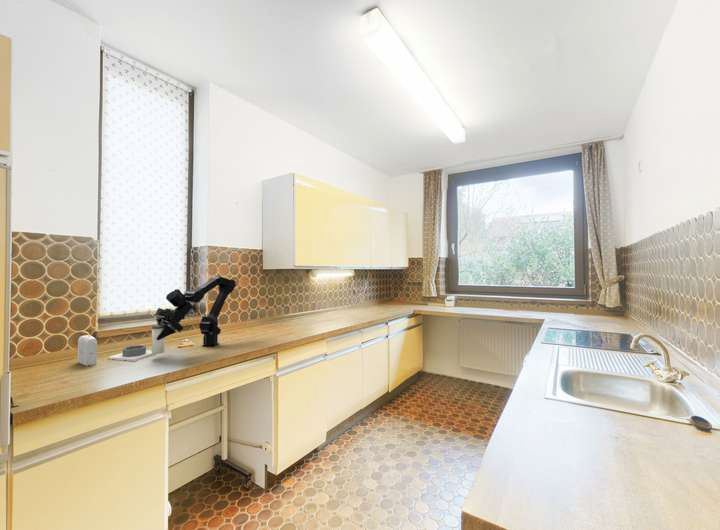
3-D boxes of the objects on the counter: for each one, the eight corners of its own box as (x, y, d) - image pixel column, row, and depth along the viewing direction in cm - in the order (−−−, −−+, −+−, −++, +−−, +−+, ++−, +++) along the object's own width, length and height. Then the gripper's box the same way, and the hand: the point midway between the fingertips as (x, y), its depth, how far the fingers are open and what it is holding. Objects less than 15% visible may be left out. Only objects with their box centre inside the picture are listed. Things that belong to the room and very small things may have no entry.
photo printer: (98, 364, 139) (98, 335, 139) (86, 366, 136) (86, 337, 136) (87, 360, 144) (88, 333, 144) (75, 362, 141) (76, 334, 141)
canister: (167, 351, 150) (167, 324, 150) (158, 354, 145) (158, 327, 145) (157, 350, 151) (158, 324, 151) (148, 353, 146) (148, 326, 146)
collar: (158, 352, 157) (159, 344, 157) (133, 361, 144) (134, 352, 144) (134, 351, 160) (134, 343, 160) (108, 359, 146) (108, 350, 146)
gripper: (160, 300, 157) (133, 325, 149) (176, 303, 145) (148, 331, 137) (177, 314, 163) (152, 339, 155) (193, 318, 152) (168, 346, 143)
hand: (154, 338), depth 147 cm, fingers closed on canister, 5 cm apart
